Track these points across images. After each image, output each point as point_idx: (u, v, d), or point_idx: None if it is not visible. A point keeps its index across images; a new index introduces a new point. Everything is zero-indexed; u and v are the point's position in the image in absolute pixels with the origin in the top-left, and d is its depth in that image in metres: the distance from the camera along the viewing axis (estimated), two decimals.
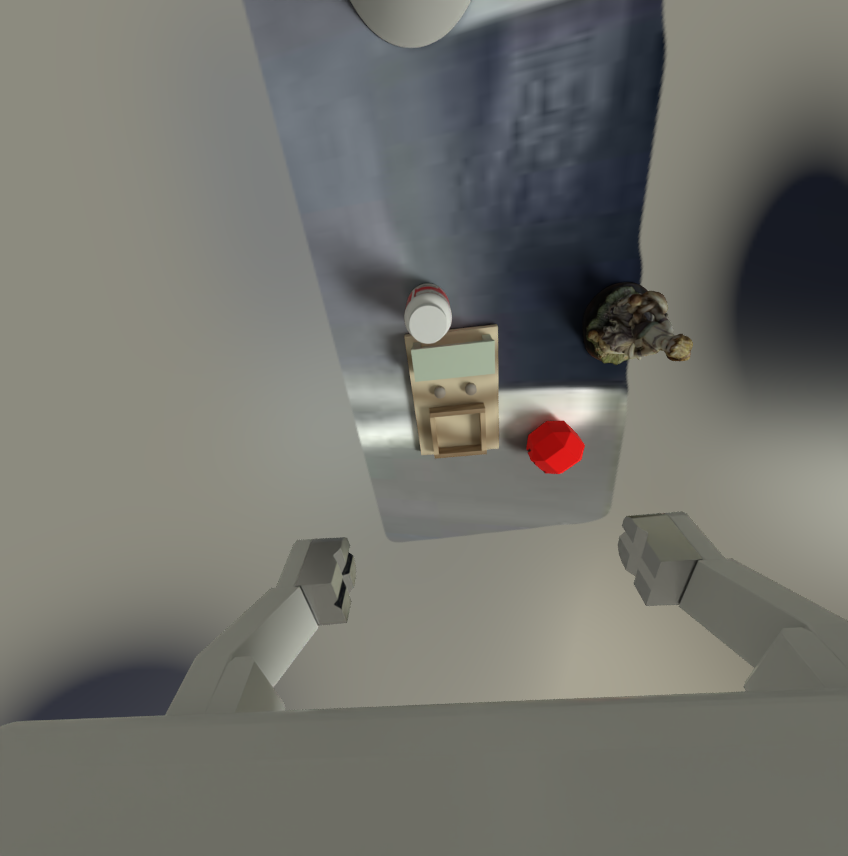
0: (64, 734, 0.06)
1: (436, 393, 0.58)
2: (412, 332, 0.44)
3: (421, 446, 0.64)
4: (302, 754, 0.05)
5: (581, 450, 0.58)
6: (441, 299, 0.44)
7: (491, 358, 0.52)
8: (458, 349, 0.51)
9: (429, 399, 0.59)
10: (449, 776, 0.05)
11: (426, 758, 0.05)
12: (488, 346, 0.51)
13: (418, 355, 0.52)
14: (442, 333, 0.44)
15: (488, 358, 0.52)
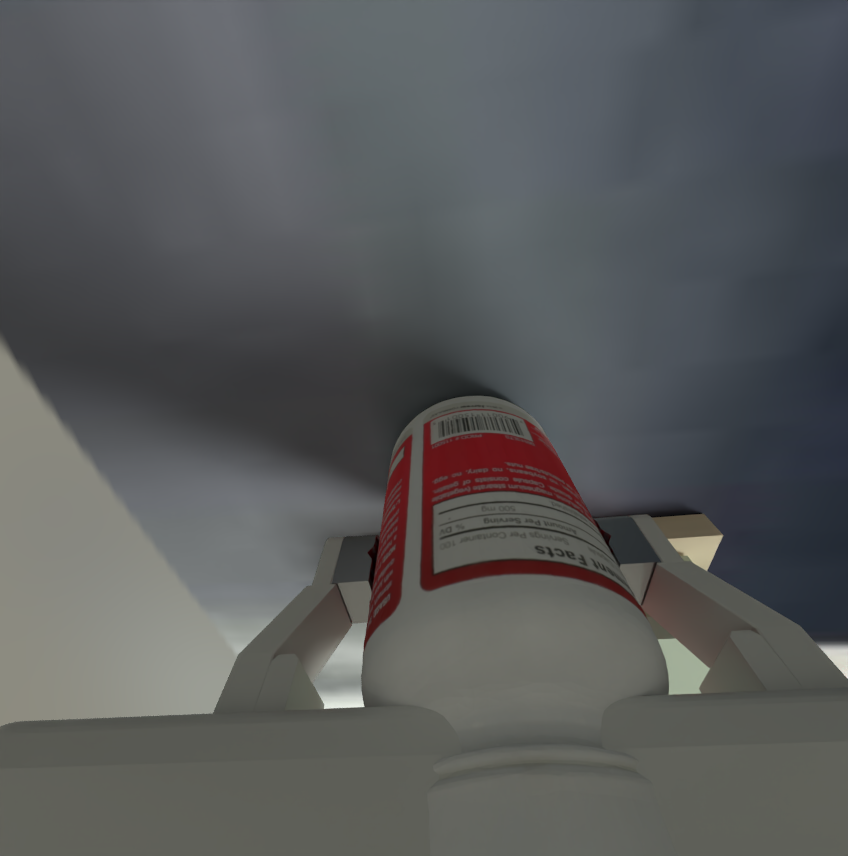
0: (65, 734, 0.06)
1: None
2: None
3: None
4: (302, 755, 0.05)
5: None
6: (631, 639, 0.06)
7: None
8: None
9: None
10: None
11: (426, 758, 0.05)
12: None
13: None
14: None
15: (703, 672, 0.14)
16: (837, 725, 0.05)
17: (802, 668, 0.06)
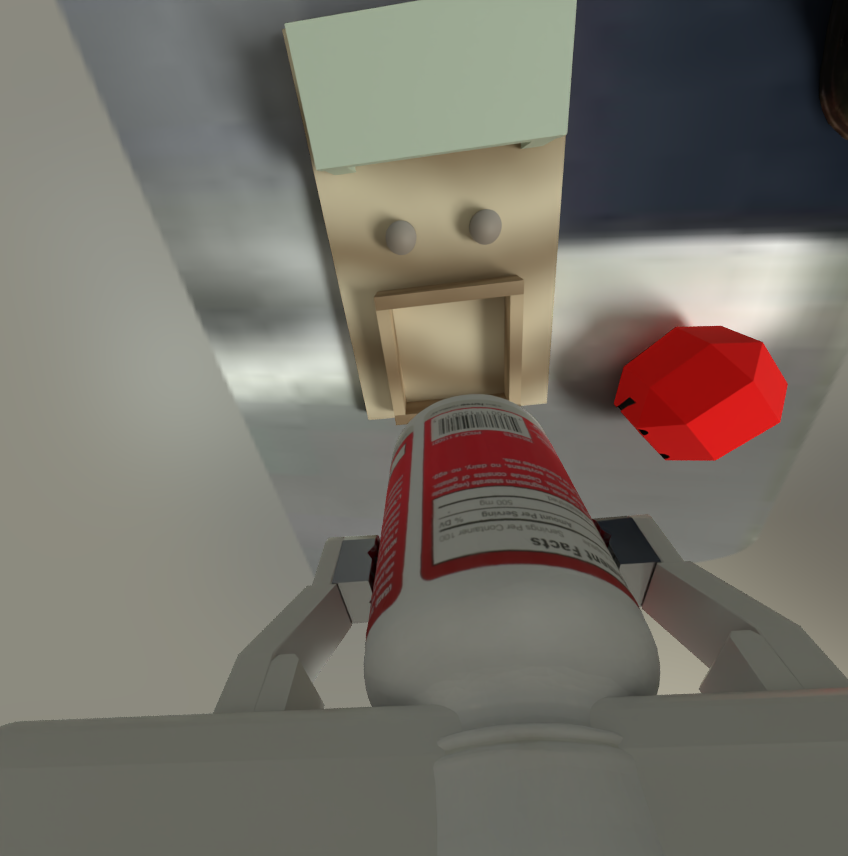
0: (65, 734, 0.06)
1: (391, 238, 0.21)
2: None
3: (366, 398, 0.28)
4: (302, 753, 0.05)
5: (783, 396, 0.22)
6: (622, 626, 0.06)
7: (560, 64, 0.15)
8: (448, 17, 0.15)
9: (376, 265, 0.23)
10: None
11: (426, 758, 0.05)
12: (554, 0, 0.15)
13: (313, 50, 0.15)
14: None
15: (550, 64, 0.15)
16: (837, 725, 0.05)
17: (802, 668, 0.06)
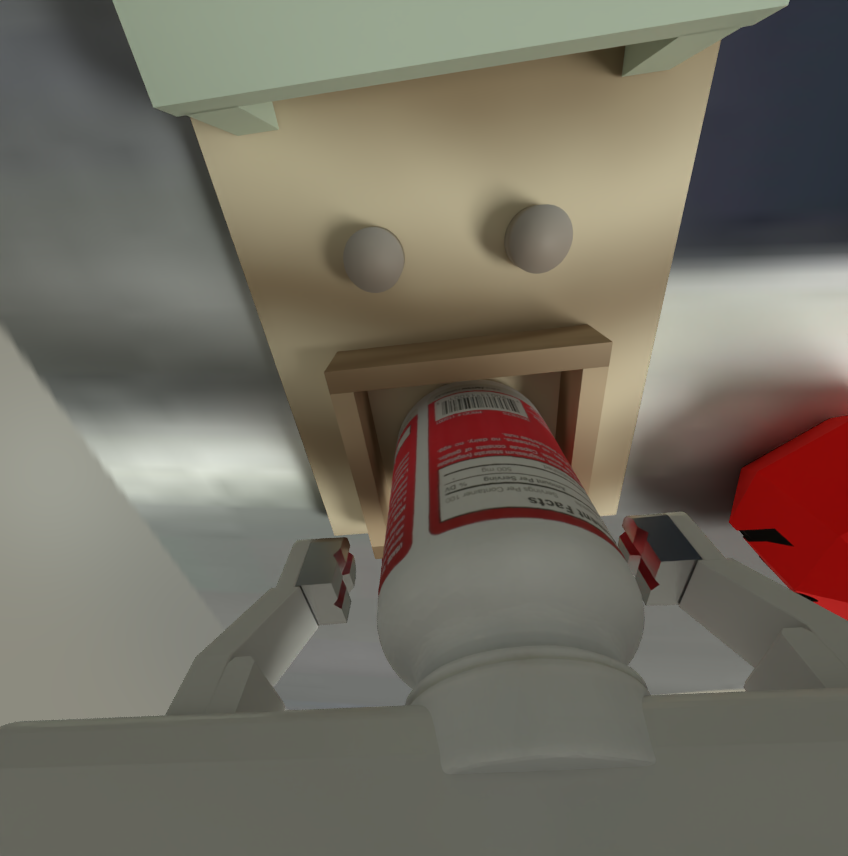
0: (64, 734, 0.06)
1: (354, 261, 0.11)
2: None
3: (329, 507, 0.17)
4: (302, 754, 0.05)
5: None
6: (609, 570, 0.07)
7: None
8: None
9: (332, 308, 0.13)
10: (449, 776, 0.05)
11: (426, 758, 0.05)
12: None
13: None
14: None
15: None
16: (837, 725, 0.05)
17: None
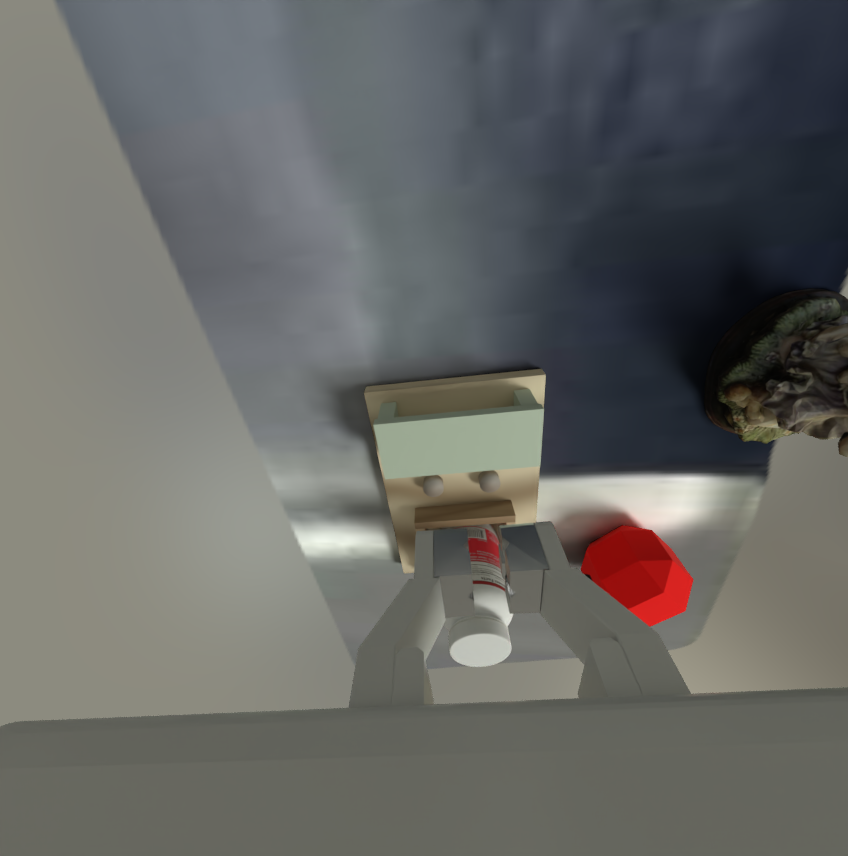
0: (64, 734, 0.06)
1: (427, 489, 0.32)
2: (454, 657, 0.27)
3: (403, 561, 0.38)
4: (302, 754, 0.05)
5: (688, 590, 0.32)
6: (499, 597, 0.28)
7: (534, 440, 0.26)
8: (469, 423, 0.25)
9: (415, 495, 0.33)
10: (449, 776, 0.05)
11: (426, 758, 0.05)
12: (530, 418, 0.25)
13: (389, 434, 0.26)
14: (502, 658, 0.27)
15: (528, 440, 0.26)
16: (837, 725, 0.05)
17: (647, 675, 0.06)
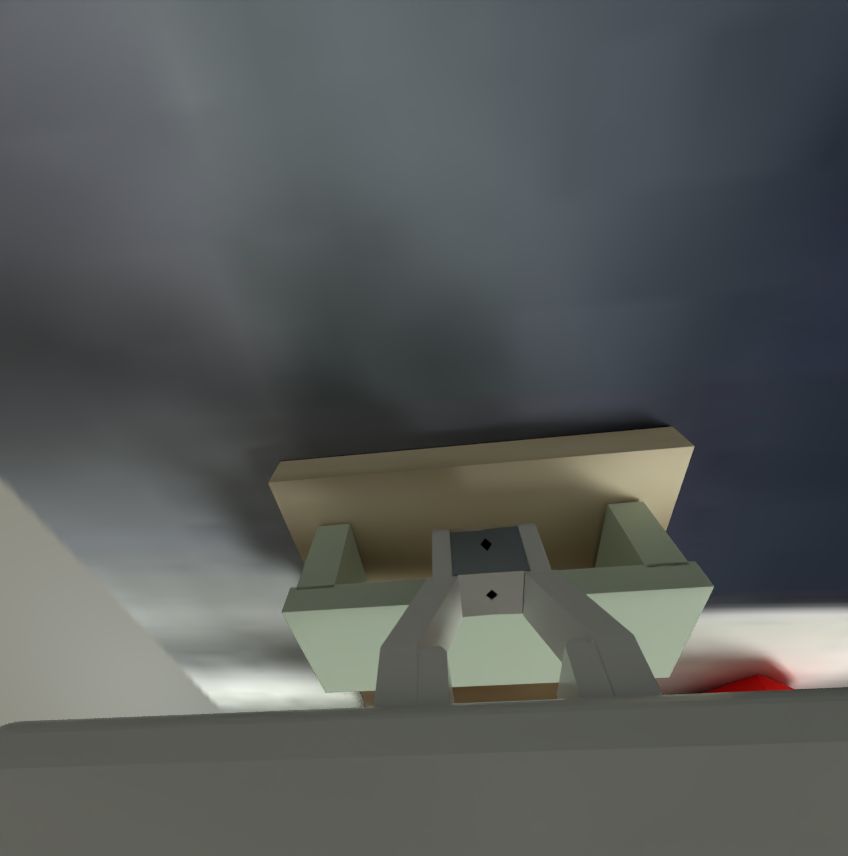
0: (63, 734, 0.06)
1: None
2: None
3: None
4: (302, 754, 0.05)
5: None
6: None
7: (671, 639, 0.11)
8: None
9: None
10: (449, 776, 0.05)
11: (426, 758, 0.05)
12: (673, 602, 0.10)
13: (323, 628, 0.11)
14: None
15: (656, 639, 0.11)
16: (837, 725, 0.05)
17: (621, 676, 0.06)
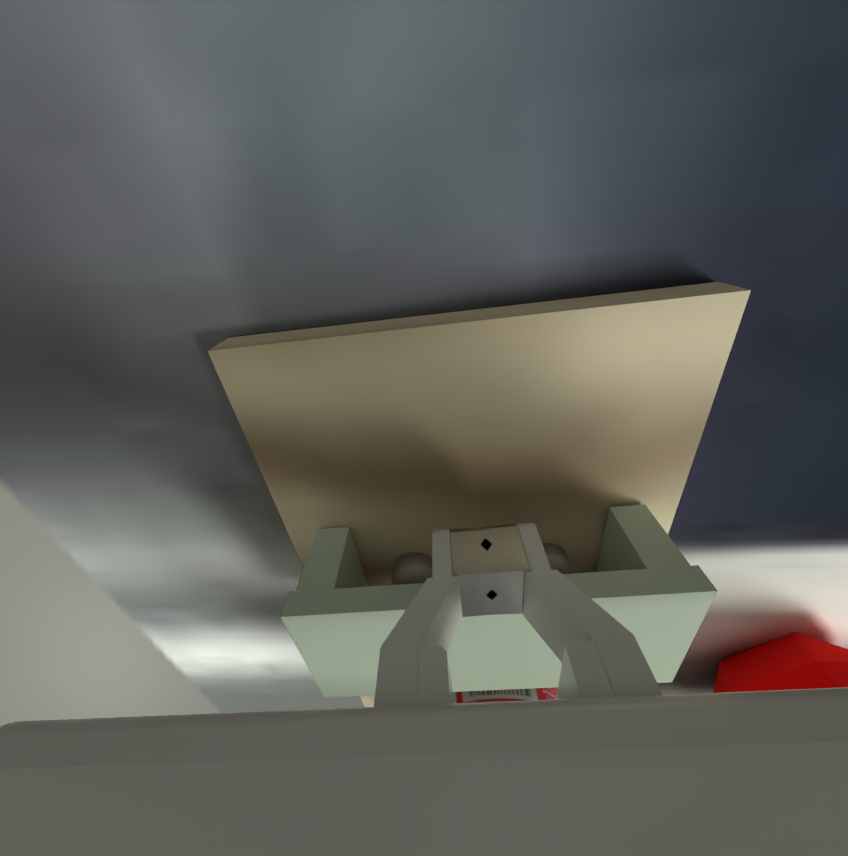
0: (64, 734, 0.06)
1: None
2: None
3: None
4: (302, 753, 0.05)
5: None
6: None
7: (674, 644, 0.11)
8: (518, 615, 0.10)
9: None
10: (449, 776, 0.05)
11: (426, 758, 0.05)
12: (676, 607, 0.10)
13: (322, 632, 0.11)
14: None
15: (659, 643, 0.11)
16: (837, 725, 0.05)
17: (621, 676, 0.06)
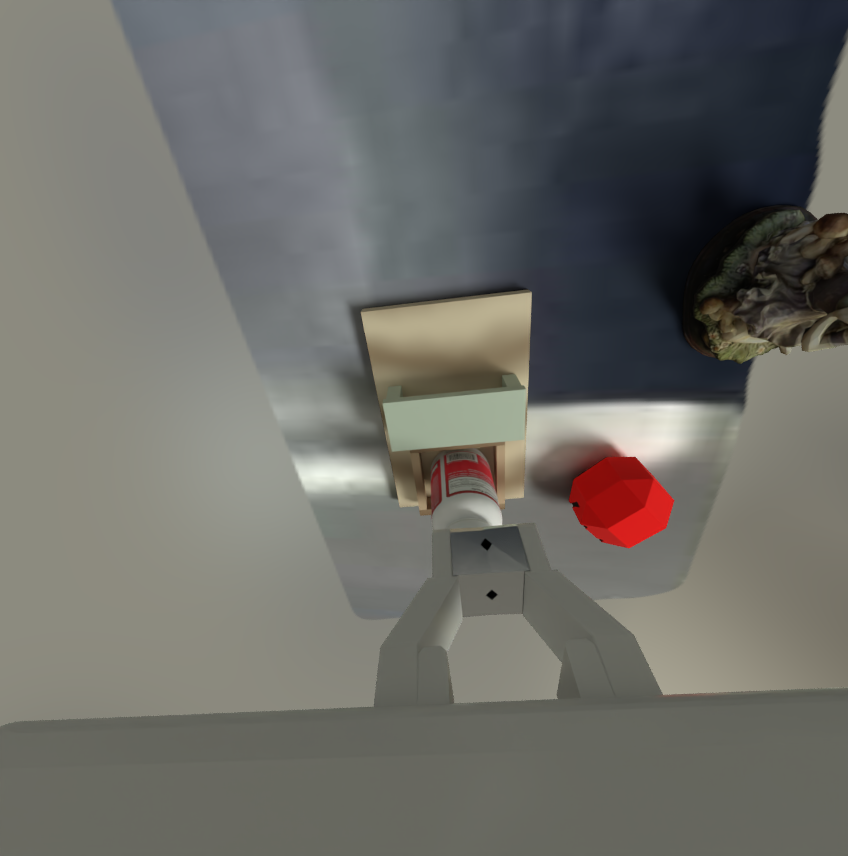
0: (64, 734, 0.06)
1: None
2: None
3: (399, 494, 0.40)
4: (302, 753, 0.05)
5: (669, 510, 0.34)
6: (489, 504, 0.30)
7: (519, 416, 0.31)
8: (463, 402, 0.30)
9: None
10: (449, 776, 0.05)
11: (426, 758, 0.05)
12: (515, 397, 0.30)
13: (395, 411, 0.31)
14: None
15: (514, 416, 0.31)
16: (837, 725, 0.05)
17: (621, 676, 0.06)
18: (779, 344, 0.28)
